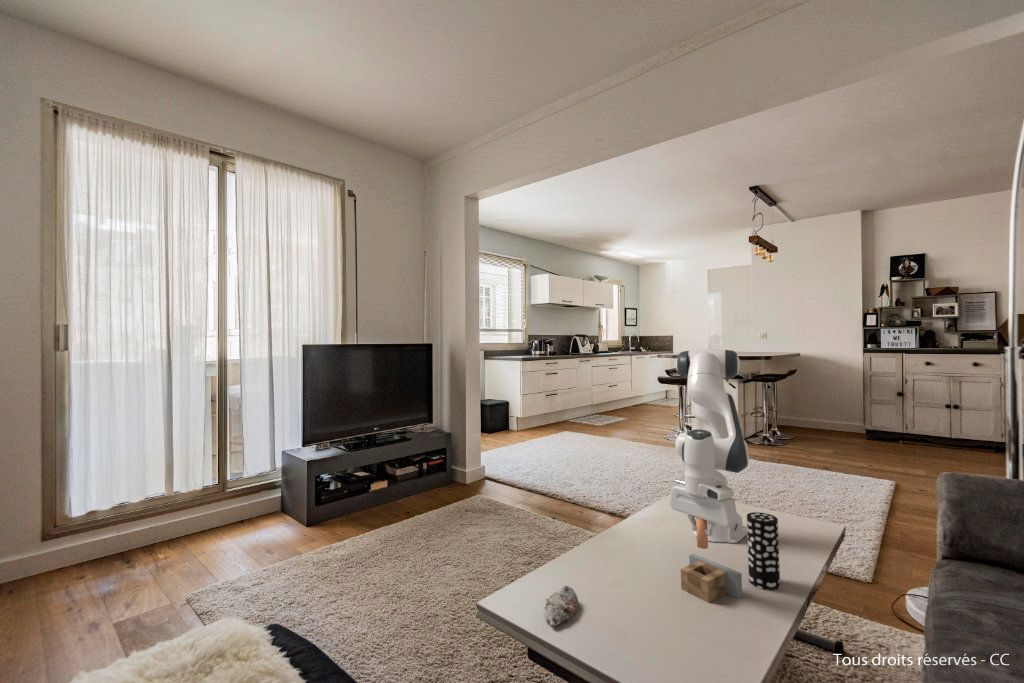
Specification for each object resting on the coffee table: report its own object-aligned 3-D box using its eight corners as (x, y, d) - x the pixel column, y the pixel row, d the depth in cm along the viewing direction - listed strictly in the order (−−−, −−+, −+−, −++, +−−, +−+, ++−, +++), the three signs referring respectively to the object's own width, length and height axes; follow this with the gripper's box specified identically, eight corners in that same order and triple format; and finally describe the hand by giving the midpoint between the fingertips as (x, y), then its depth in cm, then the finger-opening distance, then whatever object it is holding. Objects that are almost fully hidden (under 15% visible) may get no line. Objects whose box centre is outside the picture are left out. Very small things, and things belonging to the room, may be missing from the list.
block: (699, 580, 142) (699, 560, 142) (726, 592, 135) (726, 572, 135) (681, 589, 137) (680, 568, 137) (708, 602, 130) (707, 581, 130)
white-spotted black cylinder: (754, 573, 145) (752, 510, 146) (783, 582, 139) (781, 516, 140) (744, 583, 140) (742, 517, 140) (775, 593, 134) (772, 524, 134)
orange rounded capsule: (694, 546, 137) (693, 512, 137) (701, 543, 138) (700, 510, 138) (704, 549, 134) (702, 515, 134) (710, 546, 136) (709, 513, 136)
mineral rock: (558, 633, 118) (558, 615, 118) (534, 621, 123) (534, 604, 123) (589, 608, 129) (589, 592, 129) (566, 598, 134) (565, 583, 134)
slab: (693, 573, 146) (693, 553, 146) (742, 595, 133) (741, 573, 133) (689, 575, 145) (689, 554, 145) (738, 597, 132) (737, 575, 132)
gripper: (664, 479, 143) (666, 524, 143) (726, 496, 126) (727, 547, 126) (677, 476, 147) (679, 519, 147) (739, 492, 130) (740, 541, 130)
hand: (702, 532), depth 136 cm, fingers closed on orange rounded capsule, 3 cm apart
